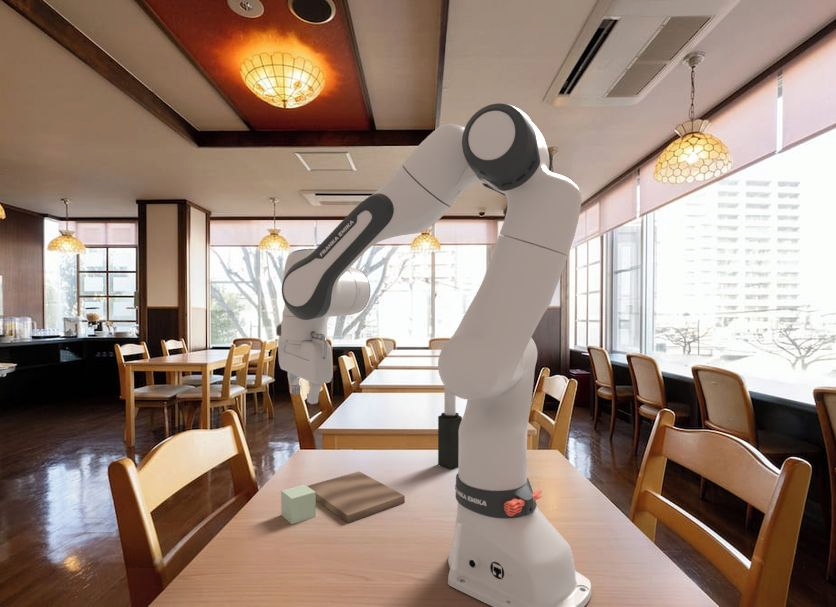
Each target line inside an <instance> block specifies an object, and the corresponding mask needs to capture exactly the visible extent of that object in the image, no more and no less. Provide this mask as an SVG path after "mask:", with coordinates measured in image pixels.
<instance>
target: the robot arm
mask: <svg viewBox="0 0 836 607" xmlns="http://www.w3.org/2000/svg"><path fill="white" fill-rule="evenodd" d="M552 169H553V158H552V154H551V151H550V149H549V147H548V146H547V144H546V141H545V138H544V136H543V134H542V132H541V131H540V129H539V128H538V127H537V126H536V125H535V123H534V122H532V120H531V118H530V117H529V116H528V114H526V113H525V112H524V111H523V110H522V109H520V108H519V107H516V106H514V105H512V104H508V103H492V104H489V105H486V106H484V107H481V108H480V109H479V110H478V111H476V112H475V113H474V114H473V115H472V116H471V117H470V119H468V121H467V122H466V124H465V126H462V125H459V124H456V123H450V122H449V123H445V124H441V125H439V126H438V127H437V128H436V129H435V130H433V131H432V132H431V133H430V134H429V135H427V137H426V138H425V139H424V140H422V141H421V143H420V144H418V145H417V147H415V148H414V150H413V151H412V152H411V153H410V154H409V155H408V157H407V158H406V159H405V160H404V161H403V163H402V164H401V166H400V167H398V169H397V170H396V172H395V173H394V174H393V175H392V176H391V177H390V178H389V179H388V180H387V181H386V182H385V183H384V184H383V185H382V186H381V187H380V188H379V189H378V190H376V191H375V192H373V194H371V195H370V196H368V197H367V198H365V199H364V200H363V201H361V202H360V203H359V204H358V205H357V206H355V208H354V209H352V210H351V212H349V213H348V215H347V216H345V218H344V219H343V220H342V221H341V222H340V223H339V224H338V225H337V226H336V227H335V228H334V229H333V230H332V232H330V234H328V235H327V237H326V238H325V239H324V240H323V241H322V242H321V243H320V244H319V245H318V246H317V248H307V249H306V248H302V249H297V250H294V251H292V252H291V253H289V254H288V256H287V258H286V260H285V263H284V268H283V279H282V280H283V281H282V284H281V295H282V296H281V297H282V300H283V302H284V307H283V310H282V316H281V317H282V319H281V321H280V323H279V324H277V325H276V326H275V331H276V333H275V335H276V336H277V337H278V339H277V353H278V356H277V357H278V364H279V367H280V369H281V370H282V371H285V372H287V379H288V380H287V381H288V384H289V393H290V394H292V395H299V394H301V385H300V379H299V378H301V379H302V380H303V379H304V380H305V381H308V387H309V389H308V393H306V402H307V403H309V404H310V405H315V404H316V405H317V404H318V403H319V394H320V393H321V390H322V385H323V384H328V383H331V381H332V379H333V373H334V372H333V371H334V370H333V352H332V347H331V344H330V343H329V342H328V340H326V339H328V317H330V318H331V317H340V316H344V317H345V316H352V315H355V314H358V313H360V312H362V311H363V310H364V309H365V308H366V307H367V305H368V303H369V301H370V297H371V285H370V281H369V279H368V277H367V276H366V274H365V273H364V272H363V271H362V270H360V269H357V268H355V267H352V266H353V265H354V264H355V263H356V262H357V261H358V260H359V259H360V258H361V257H362V256H363V255H364V254H365V253H366V252H367V251H368V250H369V249H370V248H372V247H373V246H374V245H376V244H378V243H380V242H381V241H382V242H383V241H385V240H389V239H392V238H395V237H399V236H407V235H408V236H409V235H415V234H420V233H423V232H425V231H426V230H428V229H429V228H431V227H432V226H433V225H434V224H436V223H437V222H438V221H439V220H440V219H441V218H442V217H443V216H444V215H445V214H446V213H447V211H449V209H450V208H451V207H452V206H453V204H454V203H455V202H456V201H457V199H458V198H459V197H460V196H461V195H462V194H463V192H465V190H467V189H468V188H469V187H471V186H473V185H476V184H482V185H483V186H484V187H485V188H487V189H491V190H492V191H495V192H497V193H499V194H501V195H503V196H505V197H506V202H507V205H506V206H507V208H506V212H505V217H504V220H503V223H502V226H501V228H500V232H499V235H498V238H497V241H496V243H495V246H494V248H493V251H492V253H491V258H490V259H489V264H488V266H487V269H486V271H485V274H484V277H483V279H482V282H481V284H480V286H479V288H478V290H477V292H476V294H475V295H474V297H473V299H472V301H471V303H470V304H469V306H468V308H467V310H466V311H465V314H464V315H463V317H462V319H461V321H460V322H459V325H458V327H457V328H456V330H455V331H454V333H453V335H452V336H451V337H450V339H449V340H448V341H447V342H446V343H445V344H444V345H443V347H442V349H441V350H440V353H439V355H438V358H437V359H438V360H437V370H438V374H439V377H440V380H441V382H442V384H443V385H444V388H445V387H446V388H447V389H448V390H449V391H450V392H451V393H452V394H454V395H455V396H456V397H457V398H460V399H463V400H466V405H465V410H464V412H463V415H462V421H461V423H460V426H459V452H458V467H457V468H458V472H457V474H456V475H455V476H456V477H455V485H454V489H455V499H456V502H457V508H456V517H455V525H454V530H453V532H454V533H453V540H452V544H451V548H450V552H449V555H448V558H447V560H448V562H447V563H448V568H449V572H448V575H447V585H448V586H449V587H452V588H453V589H456V590H457V591H460V592H461V593H464V594H466V595H468V596H470V597H472V598H474V599H476V600H478V601H480V602H482V603H484V604H487V605H489V606H491V607H585V606H586V605H587V604H588V603H589V601H590V600H591V597H592V584H591V581H590V579H589V578H587V577H586V576H585V575H583V574H581V573H579V571H577V570H576V567H575V566H576V565H575V559H574V554H573V550H572V547H571V546H570V544H569V543H568V542H567V540H566V539H565V538H564V537H563V536H562V535H561V534H560V533H559V531H558V530H557V528H555V527H554V525H553V524H552V523H551V522H550V521H549V519H548V518H547V517H546V516H545V515H544V514H543V513H542V512H541V510H540V509H539V508H538V507H537V504H538V503H537V500H539V499H541V498H542V495H541V494H542V489H541V490H538V491H535V492H534V491H533V487H532V485H531V482H530V479H529V478H528V474H527V473H528V429H529V418H530V411H531V406H532V401H533V400H532V398H533V393H534V392H533V390H534V383H535V381H534V380H535V371H536V364H537V360H538V348H537V345H536V343H535V341H534V339H533V335H534V333H535V331H536V330H537V327H538V325H539V323H540V321H541V319H542V318H543V316H544V314H545V312H546V311H547V309H549V307H550V305H551V303H552V301H553V297H554V295H555V292H556V289H557V286H558V284H559V282H560V279H561V276H562V273H563V270H564V268H565V265H566V262H567V260H568V257H569V254H570V250H571V249H572V245H573V242H574V239H575V236H576V232H577V227H578V224H579V218H580V212H581V208H582V207H581V206H582V193H581V190H580V189H579V187H578V185H577V184H576V183H575V182H573V181H572V180H571V179H570V178H568V177H566V176H564V175H562V174H558V173H556V172H552Z"/></svg>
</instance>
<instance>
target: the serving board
mask: <svg viewBox="0 0 836 607" xmlns="http://www.w3.org/2000/svg"><path fill="white" fill-rule="evenodd" d="M307 486H308V487H309V488H311V489H312V490H314V491H315V492H316V502H318V503H319V504H321V505H322V506H324V507H325V508H327V509H328V510H329V511H330V512H332V513H333V514H335V515H336V516H337V517H339V518H340V519H342V521H344V522H345V523H347V524H349V523H351V522H354V521H357V520H360V519H363V518H365V517H368V516H371V515H374V514H377V513H380V512H382V511H385V510H388V509H391V508H394V507H396V506H399V505H401V504H404V503H405V502H406V500H405V499H406V498H405V496H406V495H404V494H403V493H401V492H398V491H396V490H395V489H393V488H391V487H390V486H387V485H385V484H384V483H382V482H380V481H378V480H376V479H374V478H373V477H371V476H369V475H366V474H365V473H363V472H361V471H355V472H352V473H349V474H345V475H342V476H338V477H334V478H330V479H326V480H323V481H320V482H317V483H313V484H309V485H307Z"/></svg>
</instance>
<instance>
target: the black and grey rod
mask: <svg viewBox="0 0 836 607" xmlns="http://www.w3.org/2000/svg"><path fill="white" fill-rule="evenodd" d="M456 397H457V396H455V395H454V394H452V393H451V392H450V391H449V390H448V389H447V388H446V387H445V386H444V407H443V408H444V412H442V413H441V415H438V416H437V422H438V423H437V425H438V427H437V430H438V431H437V466H439V465H440V466H439V467H441V466H442V467H441V468H444V467H445V468H444V469H446V468H447V470H454V469H456V468H458V452H459V426H460V423H461V421H462V418H463V416H462V415H460V414H459V412H456V410H457V409H456V408H457V404H456ZM455 467H456V468H455Z"/></svg>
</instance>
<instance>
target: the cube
mask: <svg viewBox="0 0 836 607" xmlns="http://www.w3.org/2000/svg"><path fill="white" fill-rule="evenodd" d="M308 486H309V485H306V484H305V483H304V484H300V485H298V486H296V485H295V486H293V487H290V488H286V489H282V490H281V491H280V492H281V494H280V495H281V496H280V497H281V498H280V500H281V502H280V504H281V506H280V508H281V509H280V510H281V513H280V515H281V516H282V517H283V518H284V519H285V520H287V521H288V523H289V524H291V525H294V524H297V523H300V522H303V521H307V520H310V519H312V518H315V517H316V512H317V511H316V506H317V505H316V502H317V501H316V492H315V491H314V490H312V489H311V488H309V487H308Z"/></svg>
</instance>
